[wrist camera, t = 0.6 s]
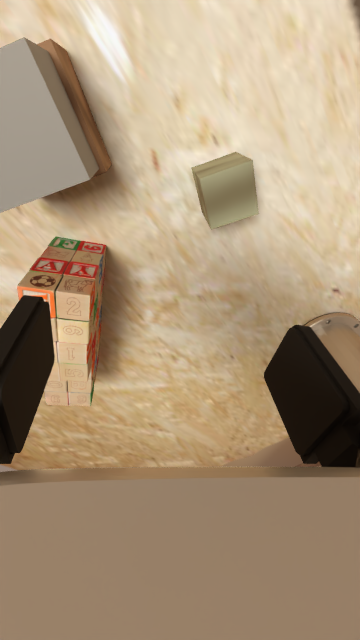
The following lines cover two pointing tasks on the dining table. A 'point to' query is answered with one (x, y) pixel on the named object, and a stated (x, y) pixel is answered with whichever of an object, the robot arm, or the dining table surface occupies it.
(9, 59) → the tower top
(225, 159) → the sage block
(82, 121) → the tower base
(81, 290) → the stack of blocks
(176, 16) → the dining table surface
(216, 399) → the dining table surface
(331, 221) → the dining table surface
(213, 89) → the dining table surface
